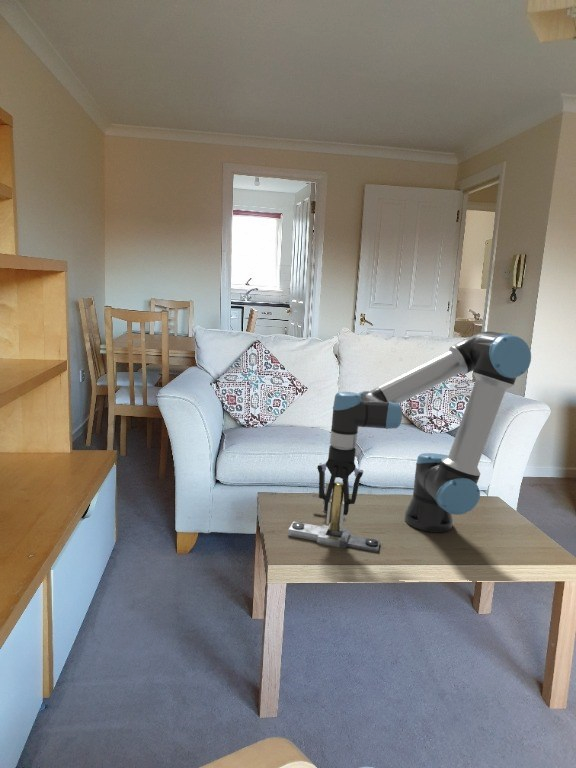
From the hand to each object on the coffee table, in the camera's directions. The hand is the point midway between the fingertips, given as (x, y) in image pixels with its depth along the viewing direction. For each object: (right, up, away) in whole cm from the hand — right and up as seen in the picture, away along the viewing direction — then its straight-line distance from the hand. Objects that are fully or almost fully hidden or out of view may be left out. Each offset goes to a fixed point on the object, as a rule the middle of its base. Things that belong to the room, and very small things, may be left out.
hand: (334, 523), depth 155 cm
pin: (0, -2, 0) cm, 2 cm away
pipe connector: (-1, -2, +21) cm, 22 cm away
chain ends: (0, -5, +1) cm, 5 cm away
